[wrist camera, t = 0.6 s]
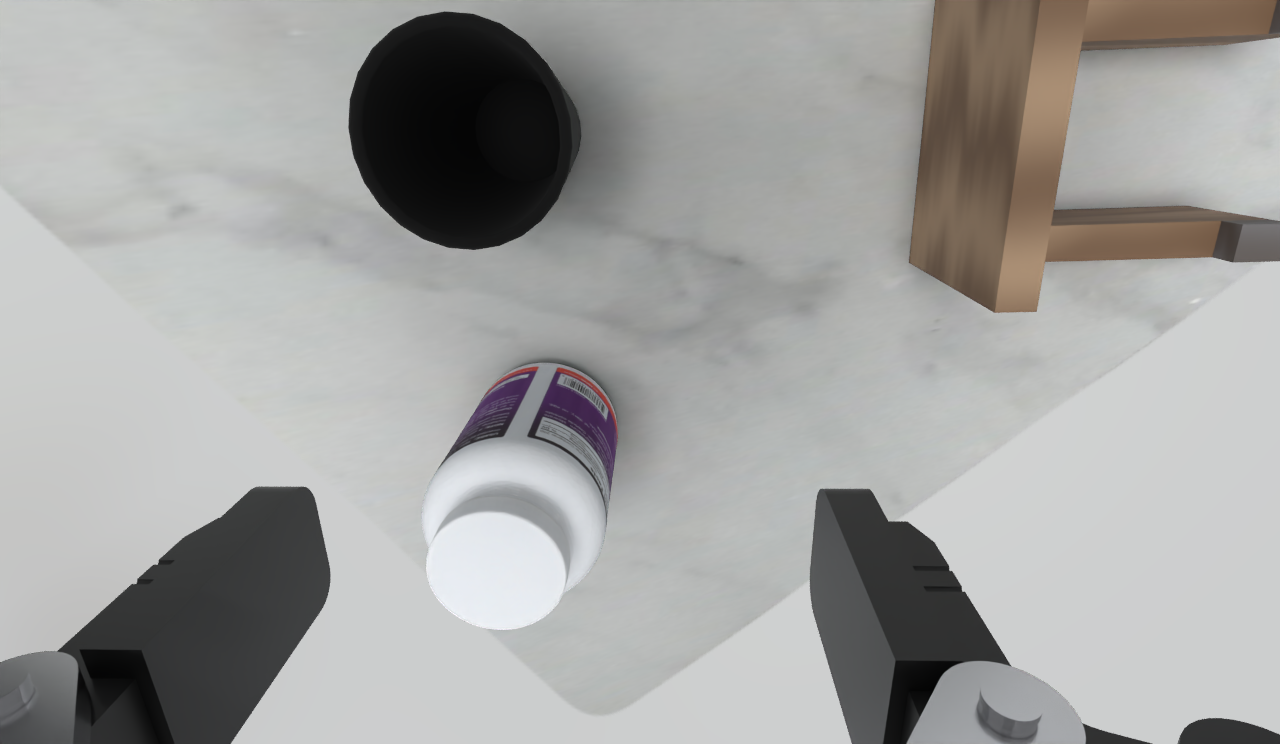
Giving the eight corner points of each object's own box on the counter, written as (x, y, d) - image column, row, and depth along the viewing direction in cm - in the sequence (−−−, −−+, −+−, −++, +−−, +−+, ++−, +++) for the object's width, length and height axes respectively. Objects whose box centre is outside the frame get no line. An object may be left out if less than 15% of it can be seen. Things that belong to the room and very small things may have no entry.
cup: (622, 79, 34) (600, 59, 22) (577, 228, 36) (537, 278, 25) (469, 25, 33) (369, -24, 22) (435, 180, 36) (329, 209, 24)
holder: (935, -3, 32) (1048, -53, 23) (1238, -16, 31) (1483, -74, 22) (909, 262, 36) (994, 312, 27) (1175, 255, 36) (1358, 303, 26)
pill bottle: (485, 479, 42) (399, 652, 28) (479, 353, 39) (380, 478, 25) (618, 485, 41) (596, 662, 28) (622, 359, 39) (599, 488, 25)
